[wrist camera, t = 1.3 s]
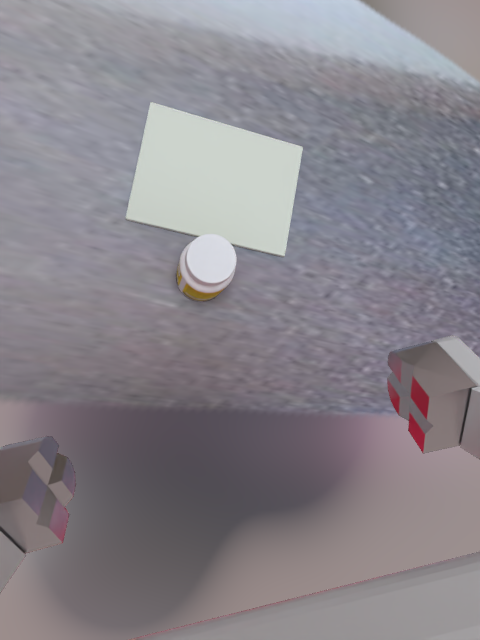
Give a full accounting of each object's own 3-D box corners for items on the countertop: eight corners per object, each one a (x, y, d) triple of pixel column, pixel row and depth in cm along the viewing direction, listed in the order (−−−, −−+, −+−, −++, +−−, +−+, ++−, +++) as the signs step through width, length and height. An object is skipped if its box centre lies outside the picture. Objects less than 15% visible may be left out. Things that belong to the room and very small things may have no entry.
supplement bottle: (232, 287, 40) (252, 270, 32) (191, 311, 39) (201, 300, 31) (208, 245, 40) (222, 218, 31) (166, 268, 39) (169, 245, 30)
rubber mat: (125, 219, 38) (125, 218, 38) (150, 105, 39) (150, 102, 39) (283, 257, 41) (284, 255, 41) (301, 149, 42) (302, 147, 42)
